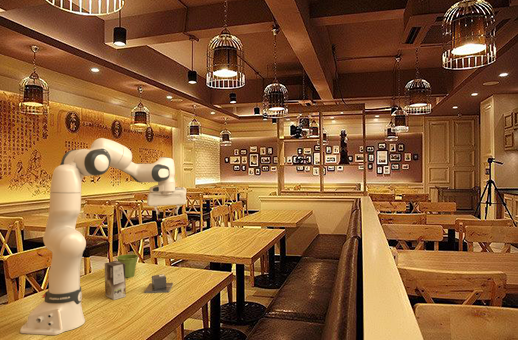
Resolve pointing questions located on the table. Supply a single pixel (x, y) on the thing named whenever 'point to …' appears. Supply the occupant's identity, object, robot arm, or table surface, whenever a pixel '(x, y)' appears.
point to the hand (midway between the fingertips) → (167, 213)
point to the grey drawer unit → (159, 281)
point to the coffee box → (115, 280)
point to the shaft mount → (160, 290)
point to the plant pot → (128, 263)
